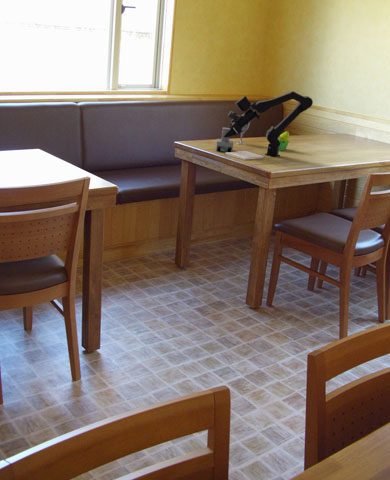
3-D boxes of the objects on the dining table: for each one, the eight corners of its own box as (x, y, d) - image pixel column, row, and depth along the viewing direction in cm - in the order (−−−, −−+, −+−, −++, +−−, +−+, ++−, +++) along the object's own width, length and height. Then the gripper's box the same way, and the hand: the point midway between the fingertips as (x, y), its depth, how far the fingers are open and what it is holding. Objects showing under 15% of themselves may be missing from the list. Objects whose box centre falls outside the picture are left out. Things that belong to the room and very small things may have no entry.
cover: (231, 149, 348) (234, 127, 344) (232, 152, 339) (234, 130, 335) (215, 148, 348) (218, 126, 344) (216, 151, 339) (218, 128, 335)
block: (227, 150, 346) (228, 143, 344) (227, 151, 342) (228, 144, 340) (220, 149, 345) (221, 142, 344) (220, 151, 342) (221, 144, 340)
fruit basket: (276, 147, 372) (279, 128, 368) (290, 149, 368) (293, 131, 364) (269, 149, 362) (272, 130, 358) (283, 152, 358) (286, 132, 354)
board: (245, 152, 344) (245, 150, 344) (263, 157, 335) (264, 156, 335) (225, 154, 334) (225, 152, 333) (244, 159, 324) (244, 158, 324)
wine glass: (235, 141, 375) (238, 117, 370) (248, 143, 374) (251, 118, 369) (233, 143, 368) (236, 118, 363) (246, 145, 367) (249, 120, 362)
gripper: (236, 104, 344) (215, 122, 348) (238, 108, 327) (215, 127, 330) (248, 120, 347) (227, 137, 350) (251, 124, 329) (228, 143, 333)
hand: (224, 135), depth 341 cm, fingers open, 9 cm apart
